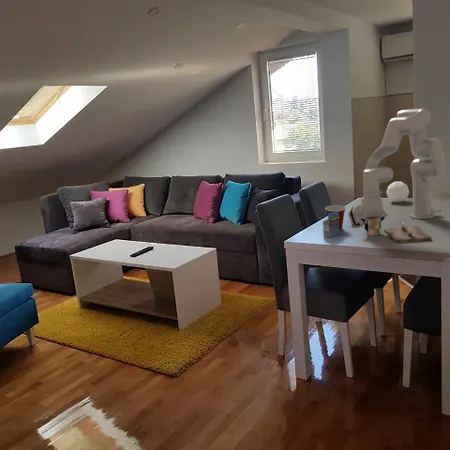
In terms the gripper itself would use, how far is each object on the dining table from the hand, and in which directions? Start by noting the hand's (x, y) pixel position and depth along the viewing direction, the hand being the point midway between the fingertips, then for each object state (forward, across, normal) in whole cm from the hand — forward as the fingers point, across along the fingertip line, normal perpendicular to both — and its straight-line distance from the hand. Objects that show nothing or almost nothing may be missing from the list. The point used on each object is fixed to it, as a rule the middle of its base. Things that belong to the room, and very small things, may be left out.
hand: (372, 230), depth 245 cm
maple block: (+2, 0, 0) cm, 2 cm away
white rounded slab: (+2, +2, -28) cm, 28 cm away
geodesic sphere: (+2, -30, -73) cm, 79 cm away
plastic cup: (+2, +16, -14) cm, 21 cm away
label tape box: (+2, +20, -2) cm, 20 cm away
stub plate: (+2, -14, +9) cm, 17 cm away
